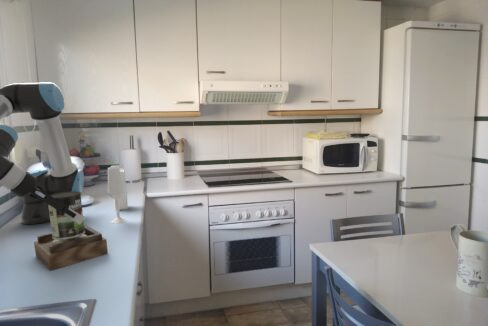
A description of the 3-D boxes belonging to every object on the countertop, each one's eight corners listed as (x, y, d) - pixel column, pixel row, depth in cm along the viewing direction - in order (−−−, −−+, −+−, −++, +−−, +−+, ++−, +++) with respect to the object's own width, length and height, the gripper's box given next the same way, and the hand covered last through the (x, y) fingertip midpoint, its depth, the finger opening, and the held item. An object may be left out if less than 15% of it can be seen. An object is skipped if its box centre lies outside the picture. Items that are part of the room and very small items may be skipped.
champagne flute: (114, 219, 168) (108, 166, 164) (129, 218, 167) (123, 166, 164) (108, 223, 161) (102, 169, 158) (123, 223, 161) (118, 168, 157)
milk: (114, 208, 188) (109, 165, 185) (126, 206, 191) (122, 163, 188) (115, 210, 183) (110, 166, 179) (128, 208, 185) (123, 165, 182)
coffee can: (91, 230, 130) (87, 190, 128) (72, 240, 120) (67, 198, 118) (65, 229, 132) (60, 191, 130) (44, 239, 122) (39, 198, 120)
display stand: (50, 270, 114) (47, 249, 113) (35, 255, 128) (33, 236, 127) (107, 253, 126) (105, 233, 125) (88, 241, 139) (86, 223, 138)
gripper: (2, 186, 121) (59, 221, 134) (17, 195, 105) (80, 234, 117) (18, 167, 124) (72, 203, 137) (35, 174, 108) (95, 214, 120)
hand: (76, 218), depth 127 cm, fingers closed on coffee can, 10 cm apart
